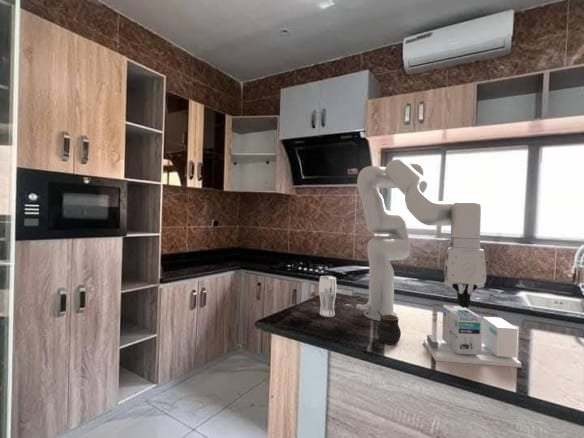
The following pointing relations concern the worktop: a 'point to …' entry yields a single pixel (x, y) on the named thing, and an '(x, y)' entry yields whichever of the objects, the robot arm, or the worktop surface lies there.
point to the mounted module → (499, 336)
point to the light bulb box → (462, 330)
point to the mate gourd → (388, 329)
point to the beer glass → (327, 295)
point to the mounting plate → (466, 355)
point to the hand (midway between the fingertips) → (463, 306)
